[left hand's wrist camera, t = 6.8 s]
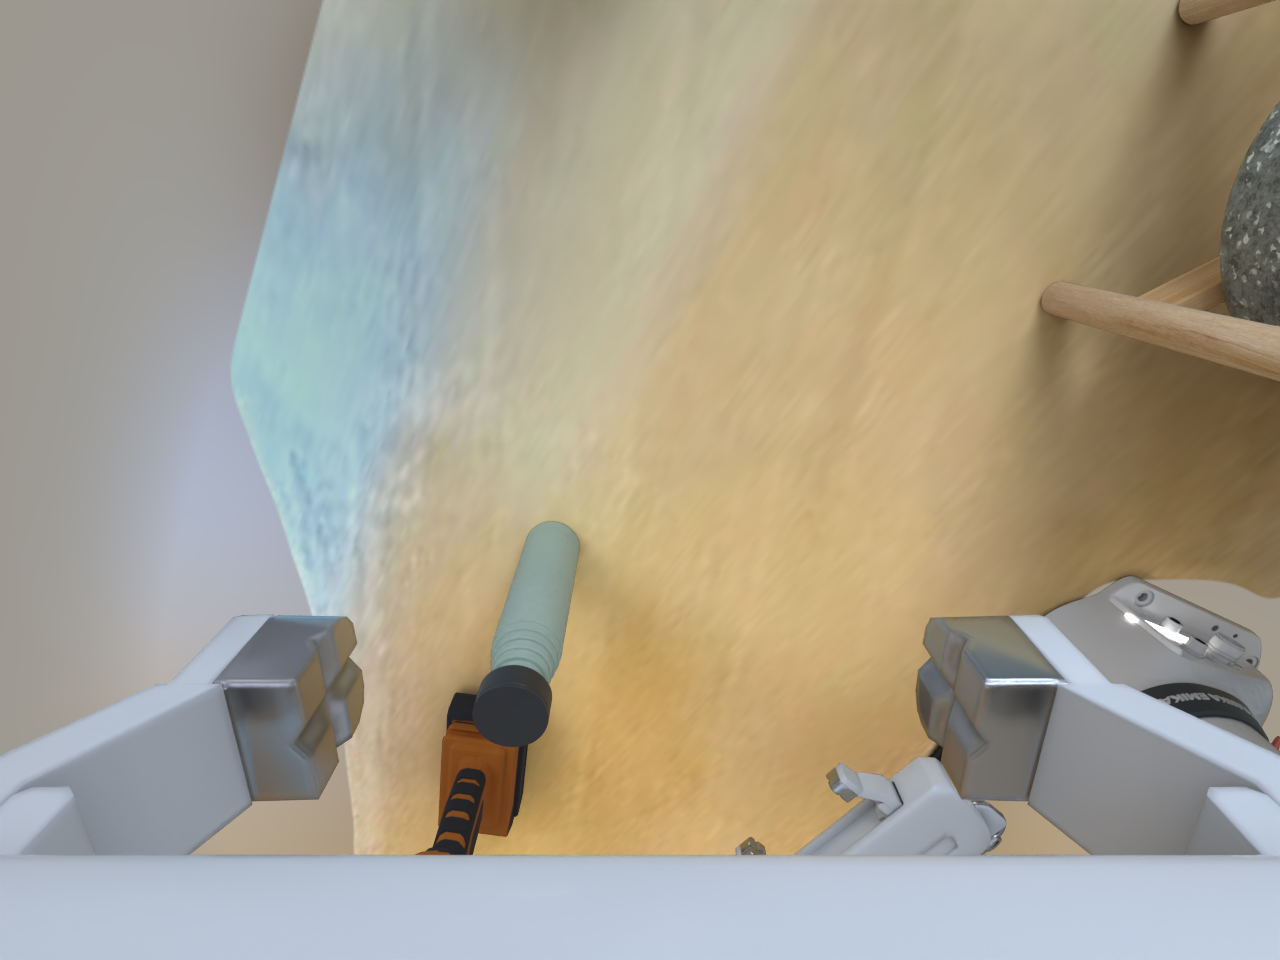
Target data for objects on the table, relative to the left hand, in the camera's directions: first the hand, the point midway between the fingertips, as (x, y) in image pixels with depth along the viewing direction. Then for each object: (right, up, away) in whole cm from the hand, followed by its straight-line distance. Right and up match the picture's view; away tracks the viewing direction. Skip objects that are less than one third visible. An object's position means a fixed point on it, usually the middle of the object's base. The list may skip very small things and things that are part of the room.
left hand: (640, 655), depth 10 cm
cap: (-8, -11, +32) cm, 35 cm away
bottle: (-8, -3, +53) cm, 54 cm away
